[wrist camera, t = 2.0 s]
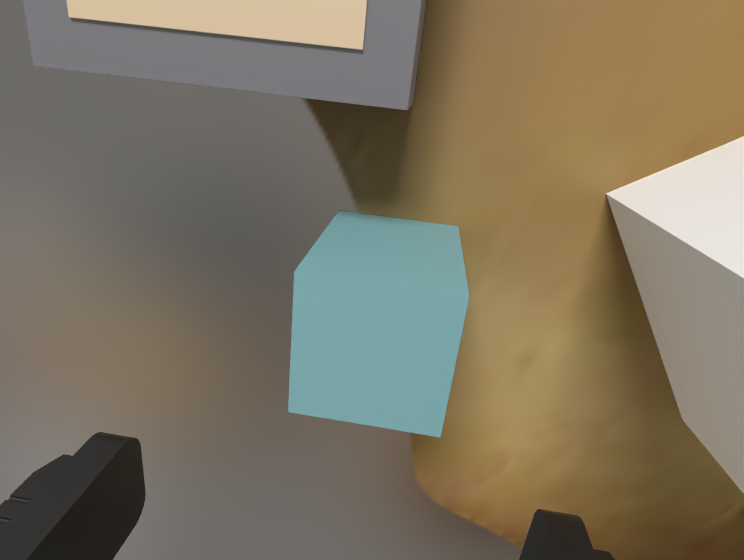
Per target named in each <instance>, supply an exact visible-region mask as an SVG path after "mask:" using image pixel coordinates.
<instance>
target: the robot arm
mask: <svg viewBox="0 0 744 560" xmlns="http://www.w3.org/2000/svg"><path fill="white" fill-rule="evenodd" d="M144 502H145V484H144V474H143V464H142V454H141V446H140V442H139V440H138V439H136V438H132V437H126V436H120V435H115V434H109V433H103V432H99V433H96V434H95V435H93V436H92V437H91V438H90V439H89V440H88V441H87V442H86V443H85V444H84V445H83V446H82V447H81V448H80V449H79V450H78V451H77V452H76V453H75V454H74V455H73V456H70V455H62V456H60V457H58V458H57V459H55V460H53V461H52V462H50V463H48V464H47V465H45V466H43V467H42V468H40V469H38V470H37V471H35V472H33V473H32V474H31V476H29V477H28V478H27V480H25V481H24V482H23V484H21V485H20V486H19V487H18V488H17V489H16V490H15V491H14V492H13V493H12V494H11V495H10V498H9V500H5V501H4V502H3V503H2V504H1V505H0V560H113V558H114V557H115V555H116V554H117V552H118V551H119V549H120V548H121V546H122V545H123V543H124V542H125V540H126V539H127V537H128V536H129V534H130V533H131V531H132V529H133V528H134V527H135V525H136V523H137V522H138V520H139V517H140V515H141V512H142V509H143V506H144ZM519 560H615V559H614V558H613V557H612V555H611V554H610V553H609V552H606V551H600V550H594V549H593V548H592V545H591V542H590V539H589V536H588V534H587V531H586V528H585V525H584V523H583V521H582V519H581V518H580V517H579V516H576V515H571V514H565V513H559V512H553V511H547V510H542V509H538V510H537V511H536V512H535V514H534V517H533V520H532V523H531V526H530V529H529V532H528V535H527V538H526V541H525V544H524V547H523V550H522V553H521V556H520V559H519Z"/></svg>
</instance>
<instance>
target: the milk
mask: <svg viewBox="0 0 744 560" xmlns="http://www.w3.org/2000/svg"><path fill="white" fill-rule="evenodd" d="M606 195H607V198H608V201H609V204H610V207H611V210H612V213H613V216H614V219H615V222H616V225H617V228H618V231H619V234H620V237H621V240H622V243H623V246H624V249H625V252H626V255H627V258H628V260H629V263H630V266H631V269H632V272H633V275H634V278H635V281H636V284H637V287H638V290H639V293H640V296H641V299H642V302H643V305H644V308H645V311H646V314H647V317H648V320H649V323H650V326H651V328H652V331H653V334H654V337H655V340H656V343H657V346H658V349H659V352H660V355H661V358H662V361H663V364H664V367H665V370H666V373H667V376H668V379H669V382H670V385H671V388H672V391H673V393H674V396H675V399H676V402H677V405H678V408H679V411H680V414H681V417H682V420H683V421H684V422H685V423H686V424H687V426H688V427H689V428H690V429H691V431H692V432H693V433H694V434H695V435H696V437H697V438H698V439H699V440H700V442H701V443H702V444H703V445H704V446H705V448H706V449H707V450H708V451H709V452H710V454H711V455H712V456H713V457H714V459H715V460H716V461H717V462H718V463H719V465H720V466H721V467H722V468H723V469H724V471H725V472H726V473H727V474H728V476H729V477H730V478H731V479H732V480H733V482H734V483H735V484H736V485H737V486H738V488H739V489H740V490H741V491H742V493H743V494H744V137H741V138H739V139H736V140H734V141H732V142H729V143H727V144H724V145H722V146H720V147H717V148H715V149H712V150H710V151H708V152H705V153H703V154H700V155H698V156H696V157H693V158H691V159H688V160H686V161H683V162H681V163H679V164H676V165H674V166H671V167H669V168H667V169H664V170H662V171H659V172H657V173H655V174H652V175H650V176H647V177H645V178H643V179H640V180H638V181H635V182H633V183H630V184H628V185H626V186H623V187H621V188H618V189H616V190H614V191H611V192H609V193H606Z"/></svg>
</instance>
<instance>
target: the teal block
mask: <svg viewBox="0 0 744 560" xmlns="http://www.w3.org/2000/svg"><path fill="white" fill-rule="evenodd" d="M468 302H469V292H468V285H467V279H466V272H465V266H464V259H463V253H462V246H461V240H460V233H459V227H458V226H451V225H444V224H436V223H429V222H422V221H414V220H407V219H399V218H392V217H385V216H377V215H370V214H363V213H357V212H349V211H341V210H339V211H338V213H337V214H336V215H335V217H334V218H333V220H332V221H331V222H330V224H329V225H328V226H327V228H326V229H325V230H324V232H323V233H322V235H321V236H320V237H319V239H318V240H317V241H316V243H315V244H314V245H313V247H312V248H311V250H310V251H309V252H308V254H307V255H306V256H305V258H304V259H303V260H302V262H301V263H300V265H299V266H298V267H297V269H296V270H295V271H294V290H293V314H292V337H291V359H290V382H289V406H288V408H289V409H288V412H291V413H297V414H303V415H309V416H315V417H322V418H327V419H333V420H339V421H345V422H351V423H357V424H363V425H369V426H375V427H381V428H387V429H393V430H399V431H405V432H411V433H417V434H423V435H429V436H435V437H441V433H442V428H443V423H444V418H445V413H446V408H447V404H448V399H449V394H450V389H451V384H452V379H453V374H454V370H455V365H456V360H457V355H458V350H459V345H460V340H461V336H462V331H463V326H464V321H465V316H466V311H467V306H468Z"/></svg>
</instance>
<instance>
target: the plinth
mask: <svg viewBox="0 0 744 560" xmlns="http://www.w3.org/2000/svg"><path fill="white" fill-rule="evenodd" d="M426 2H427V0H23V5H24V11H25V17H26V23H27V28H28V35H29V41H30V47H31V54H32V60H33V66H40V67H49V68H57V69H65V70H74V71H82V72H91V73H99V74H107V75H116V76H124V77H132V78H141V79H149V80H157V81H167V82H175V83H183V84H191V85H199V86H208V87H216V88H225V89H233V90H241V91H251V92H258V93H267V94H275V95H284V96H292V97H300V98H308V99H317V100H325V101H334V102H342V103H350V104H359V105H367V106H375V107H384V108H392V109H401V110H408V109H409V108H410V107H411V106H412V105H413V101H414V94H415V86H416V78H417V71H418V63H419V55H420V48H421V40H422V32H423V25H424V17H425V9H426Z"/></svg>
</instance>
